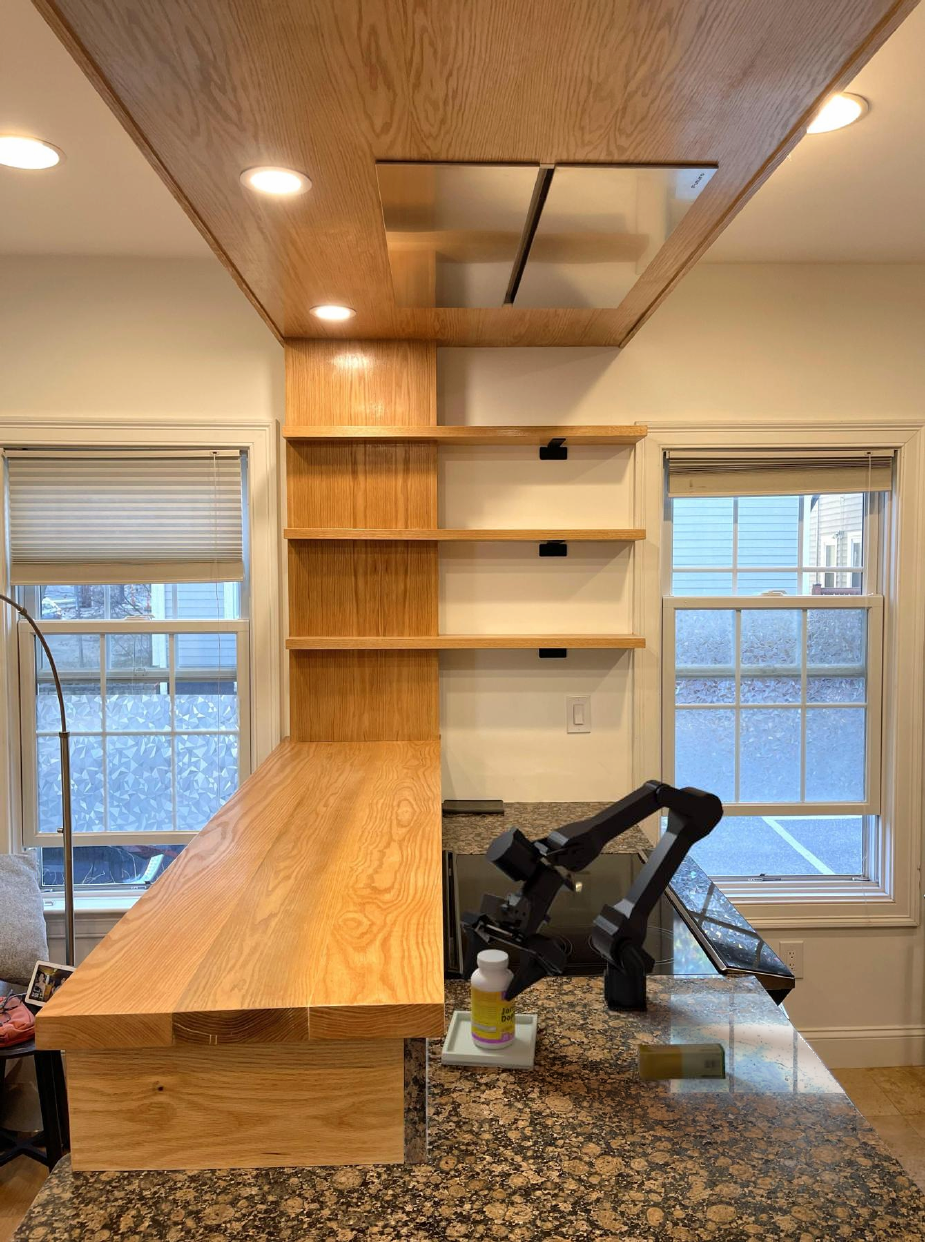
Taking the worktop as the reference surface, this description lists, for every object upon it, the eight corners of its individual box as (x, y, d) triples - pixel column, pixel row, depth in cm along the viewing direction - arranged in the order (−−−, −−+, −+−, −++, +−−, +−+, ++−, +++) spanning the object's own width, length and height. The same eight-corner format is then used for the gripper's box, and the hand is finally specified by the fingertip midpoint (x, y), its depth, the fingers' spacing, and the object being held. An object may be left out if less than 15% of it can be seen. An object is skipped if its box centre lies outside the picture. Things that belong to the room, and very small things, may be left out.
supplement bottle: (504, 1055, 126) (503, 967, 126) (463, 1045, 129) (463, 959, 129) (522, 1034, 132) (521, 951, 132) (482, 1025, 135) (482, 943, 135)
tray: (537, 1024, 137) (537, 1014, 137) (532, 1069, 124) (532, 1058, 123) (454, 1020, 138) (454, 1010, 138) (441, 1064, 125) (441, 1053, 125)
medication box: (721, 1070, 123) (721, 1042, 123) (727, 1080, 121) (726, 1051, 121) (636, 1071, 123) (636, 1042, 123) (640, 1081, 121) (640, 1052, 121)
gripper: (467, 858, 140) (414, 945, 133) (553, 885, 126) (500, 983, 119) (502, 895, 145) (453, 980, 138) (588, 925, 132) (540, 1021, 124)
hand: (484, 989), depth 130 cm, fingers open, 9 cm apart
